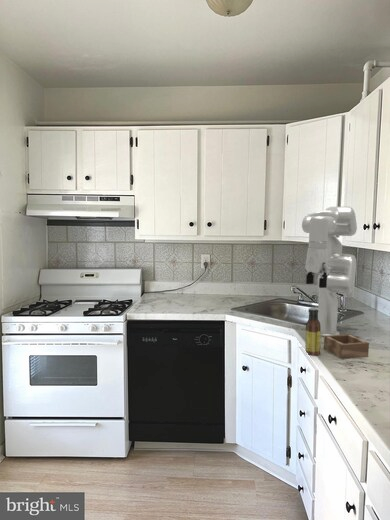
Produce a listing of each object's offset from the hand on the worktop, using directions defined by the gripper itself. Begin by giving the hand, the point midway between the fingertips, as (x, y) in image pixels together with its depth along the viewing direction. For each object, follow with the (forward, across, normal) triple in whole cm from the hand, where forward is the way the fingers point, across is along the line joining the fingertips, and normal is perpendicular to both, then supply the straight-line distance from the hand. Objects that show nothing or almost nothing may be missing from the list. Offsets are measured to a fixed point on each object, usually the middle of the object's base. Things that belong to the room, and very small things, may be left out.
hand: (316, 285), depth 158 cm
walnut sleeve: (+30, +2, +15) cm, 34 cm away
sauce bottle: (+30, 0, 0) cm, 30 cm away
